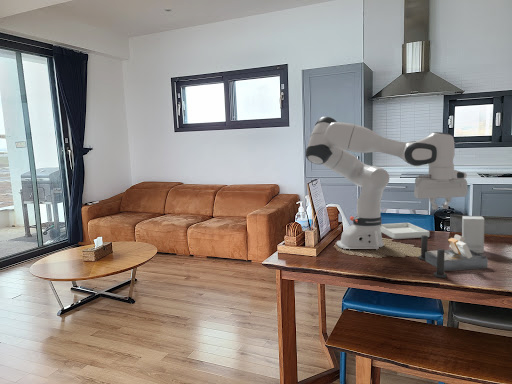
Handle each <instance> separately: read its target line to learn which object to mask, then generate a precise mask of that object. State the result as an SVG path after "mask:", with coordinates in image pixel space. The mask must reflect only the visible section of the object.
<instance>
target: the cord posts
mask: <svg viewBox="0 0 512 384" xmlns="http://www.w3.org/2000/svg"><path fill="white" fill-rule="evenodd" d="M428 238H429V237H428V236H426V235H422V236H421V238H420V239H421V240H420V243H421V245H420V247H421V249H420V255H418V257H417V258H418V260H420V261H425V252H426V251H428V244H429V243H428V242H429V241H428ZM445 250H446V249H443V248H437V250H436V251H437V267H436V271H435V272H433V277H435V278H438V279H446V278H447V277H448V274H447V273H446V272H445V271H444V254H445Z"/></svg>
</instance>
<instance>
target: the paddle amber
mask: <svg viewBox="0 0 512 384" xmlns="http://www.w3.org/2000/svg"><path fill="white" fill-rule="evenodd" d="M447 241H448V242H449V245H451V247H452V248H451V250H453V251H454V252H455V253H457V254H459V255H461V253H460V251H459V249H458V247H457V245H456V243H457V242H458V240H456V239H454V237H450V238H449V239H448V240H447Z"/></svg>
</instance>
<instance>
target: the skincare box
mask: <svg viewBox="0 0 512 384" xmlns="http://www.w3.org/2000/svg"><path fill="white" fill-rule="evenodd" d="M461 222H462V223H461V228H462V229H461V230H462V231H461V236H462V237H464V238H465V240H464V241H463V242H464V243H466V244H467V246H468V248H469V250H472V251H474V252H477V253H479V254H484V253H485V218H484V217H483V216H479V215H478V216H476V215H473V216H471V215H469V216H468V215H462V221H461Z"/></svg>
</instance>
